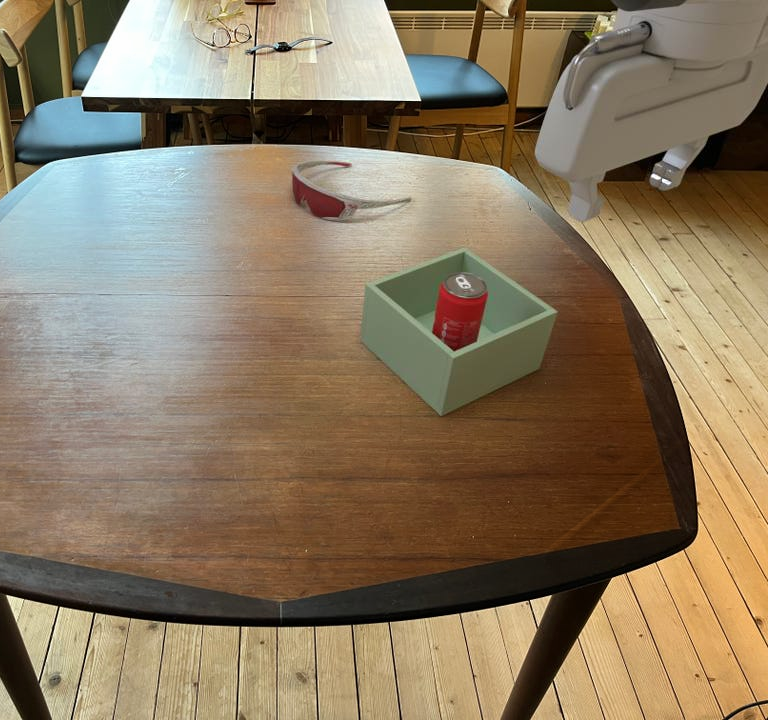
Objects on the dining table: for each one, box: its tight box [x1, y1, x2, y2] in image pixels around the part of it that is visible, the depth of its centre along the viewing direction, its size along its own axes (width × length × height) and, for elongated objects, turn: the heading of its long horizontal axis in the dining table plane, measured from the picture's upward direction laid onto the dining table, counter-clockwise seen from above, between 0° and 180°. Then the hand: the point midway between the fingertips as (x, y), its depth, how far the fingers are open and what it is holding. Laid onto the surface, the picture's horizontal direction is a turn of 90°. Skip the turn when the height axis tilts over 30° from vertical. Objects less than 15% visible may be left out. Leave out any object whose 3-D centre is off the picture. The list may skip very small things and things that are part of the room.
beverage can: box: [432, 273, 488, 352], centre depth 84 cm, size 5×5×12 cm
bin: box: [359, 246, 558, 417], centre depth 88 cm, size 16×16×9 cm
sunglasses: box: [291, 160, 413, 221], centre depth 119 cm, size 17×17×5 cm
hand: (623, 201), depth 57 cm, fingers open, 8 cm apart
